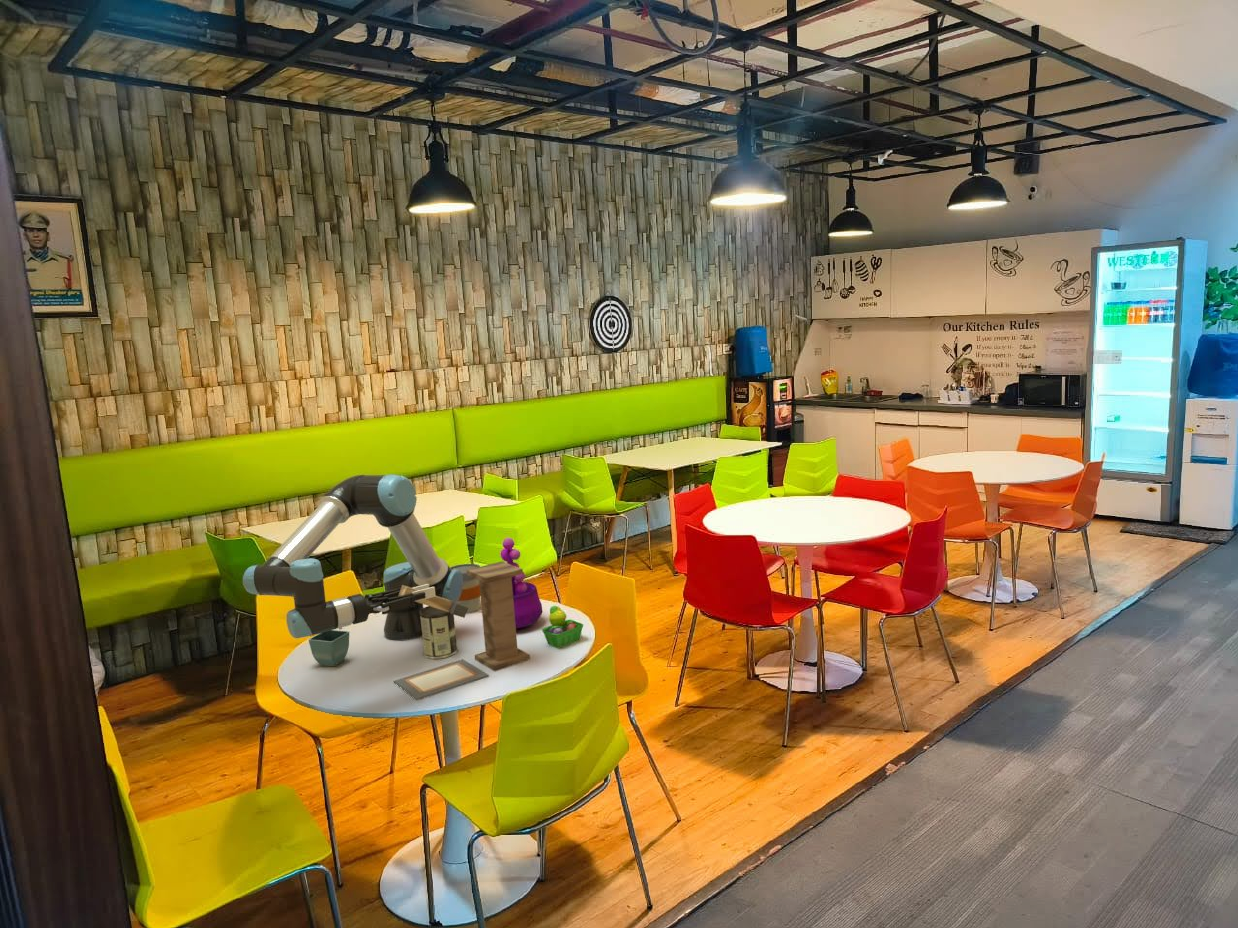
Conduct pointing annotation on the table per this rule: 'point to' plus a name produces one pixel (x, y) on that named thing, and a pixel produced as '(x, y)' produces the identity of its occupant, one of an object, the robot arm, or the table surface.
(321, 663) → the flower pot
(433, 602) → the wooden handled hammer
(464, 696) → the table surface
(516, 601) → the decorative plant
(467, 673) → the pad
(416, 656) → the table surface
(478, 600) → the reusable coffee cup
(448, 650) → the coffee can
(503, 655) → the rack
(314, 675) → the table surface
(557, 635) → the fruit basket
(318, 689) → the table surface
